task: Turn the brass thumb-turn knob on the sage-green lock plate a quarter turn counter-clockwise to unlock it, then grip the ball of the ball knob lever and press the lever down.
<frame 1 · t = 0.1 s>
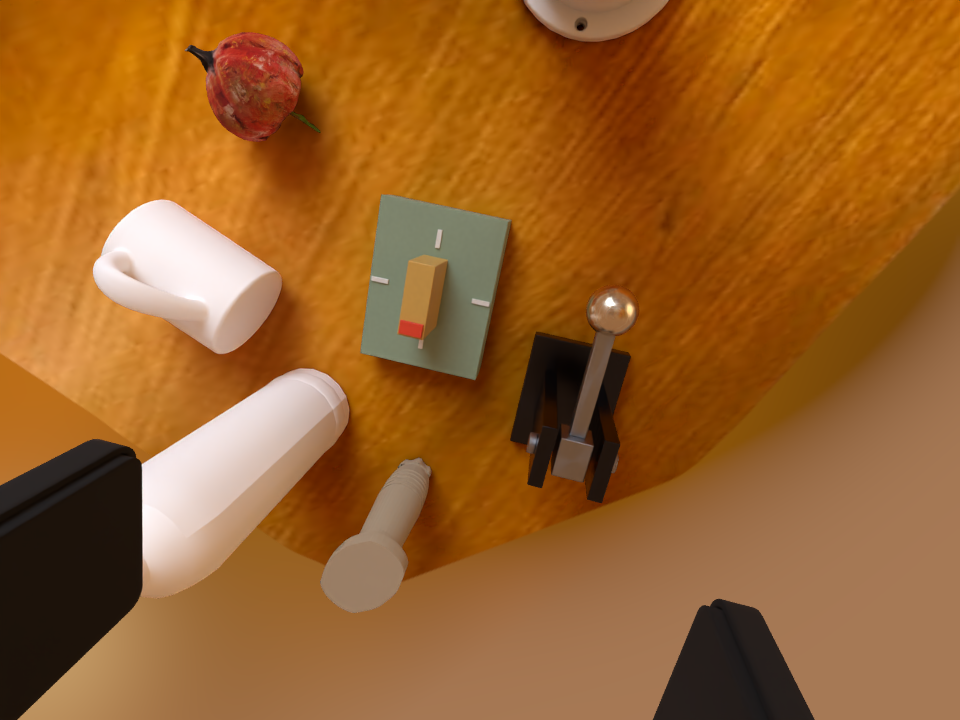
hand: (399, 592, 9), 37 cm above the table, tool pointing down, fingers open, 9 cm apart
lock plate: (438, 285, 45), on the table
bottle: (311, 405, 50), on the table
lock knob: (422, 296, 39), point 5 cm above the table, hinge at 0.0°
handle bracket: (567, 395, 46), on the table
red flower: (283, 99, 42), on the table
ball knob lever: (591, 383, 34), point 11 cm above the table, hinge at 0.0°
handle: (416, 470, 50), on the table
mug: (228, 271, 47), on the table
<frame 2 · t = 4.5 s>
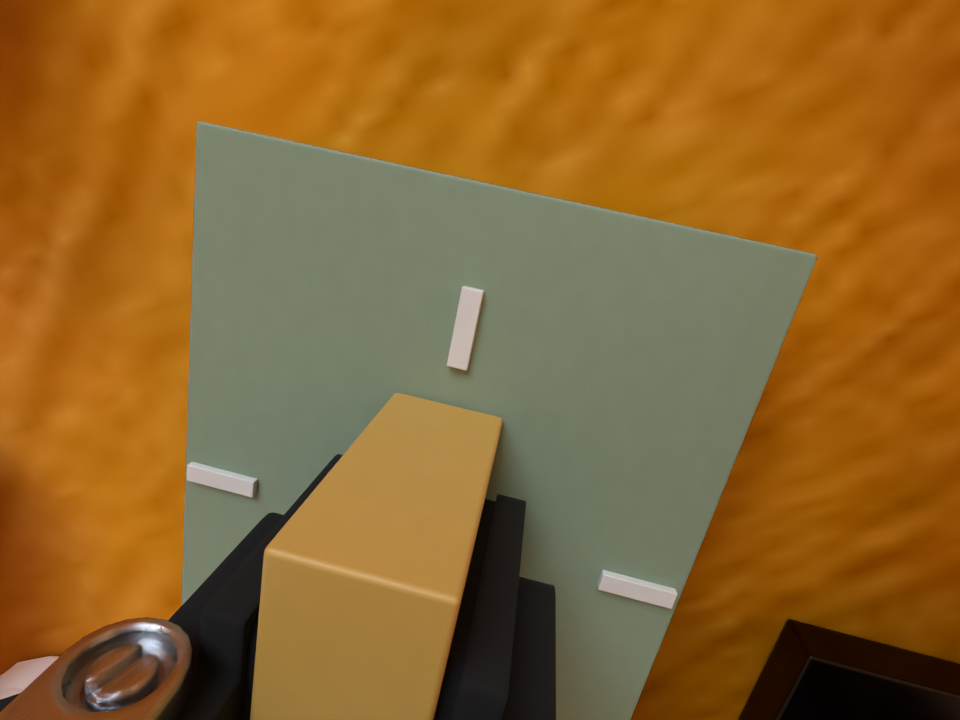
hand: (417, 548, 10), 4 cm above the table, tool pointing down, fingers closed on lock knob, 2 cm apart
lock plate: (452, 458, 13), on the table
lock knob: (386, 626, 8), point 5 cm above the table, hinge at 0.4°, touching gripper
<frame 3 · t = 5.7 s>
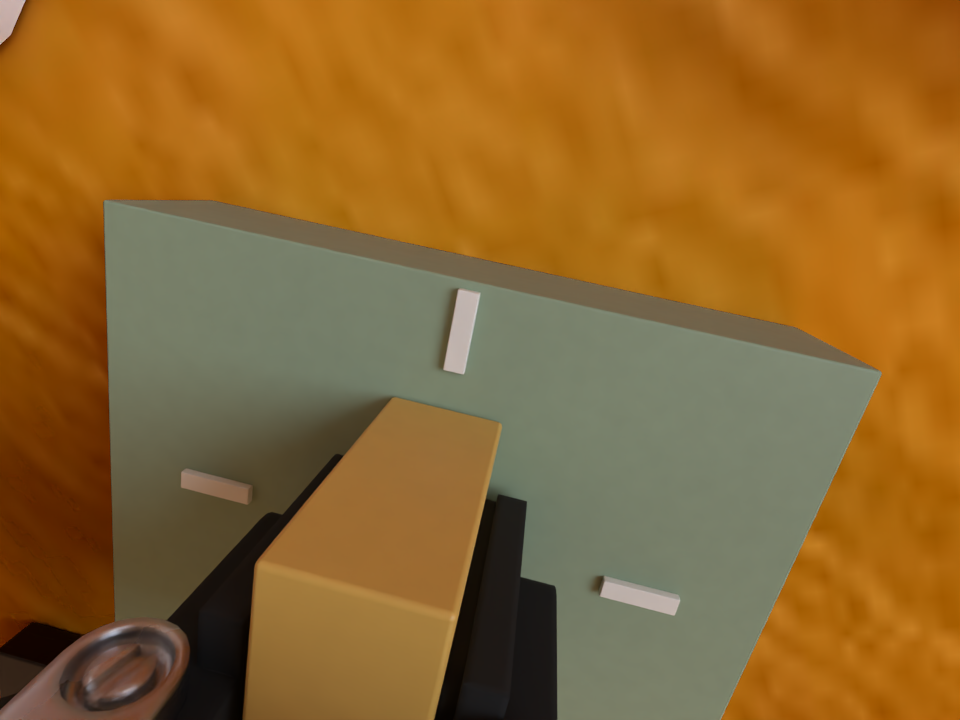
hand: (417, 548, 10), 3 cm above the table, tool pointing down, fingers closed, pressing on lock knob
lock plate: (451, 462, 13), on the table
lock knob: (383, 636, 8), point 5 cm above the table, hinge at 89.8°, touching gripper
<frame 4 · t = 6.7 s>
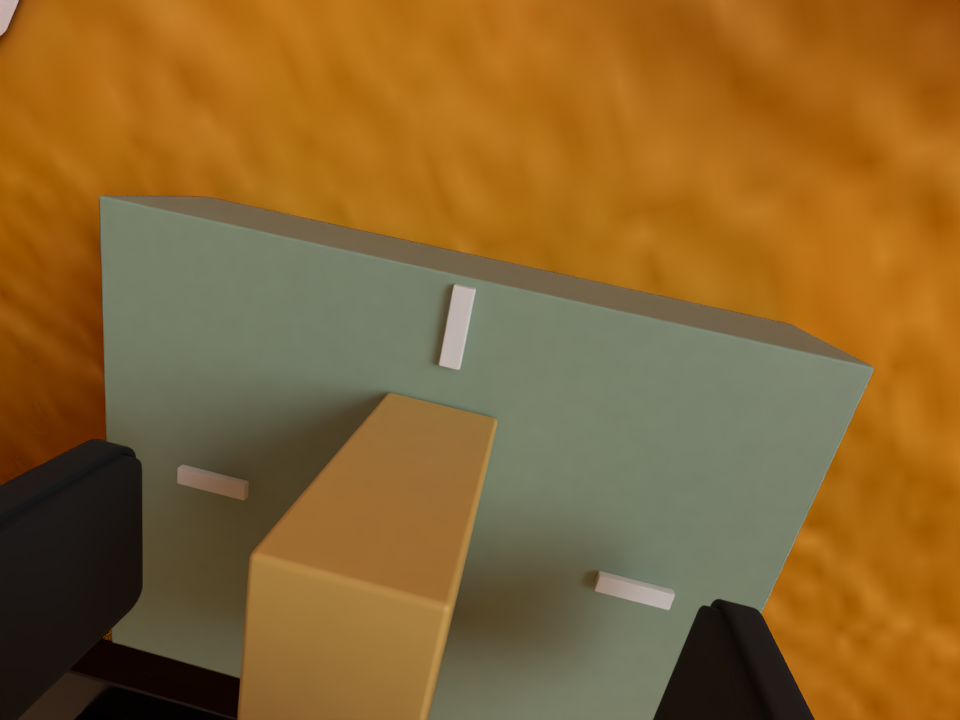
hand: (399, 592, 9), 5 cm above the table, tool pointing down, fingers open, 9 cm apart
lock plate: (448, 459, 13), on the table
lock knob: (378, 630, 8), point 5 cm above the table, hinge at 89.8°
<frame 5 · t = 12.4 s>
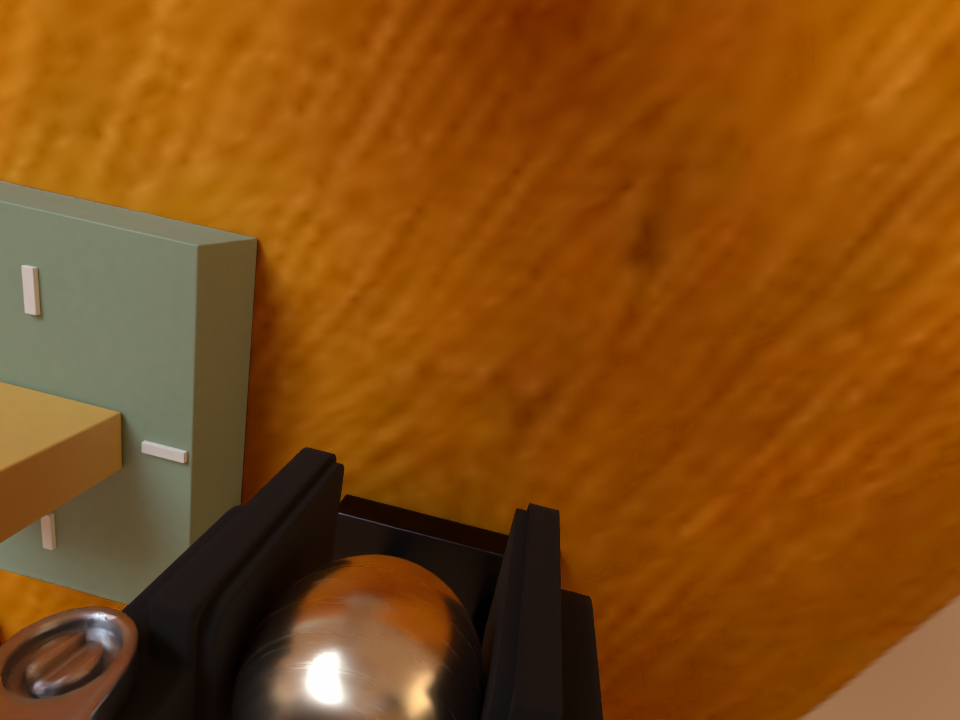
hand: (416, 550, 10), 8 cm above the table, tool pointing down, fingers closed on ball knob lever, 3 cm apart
lock plate: (118, 386, 19), on the table
handle bracket: (428, 626, 20), on the table
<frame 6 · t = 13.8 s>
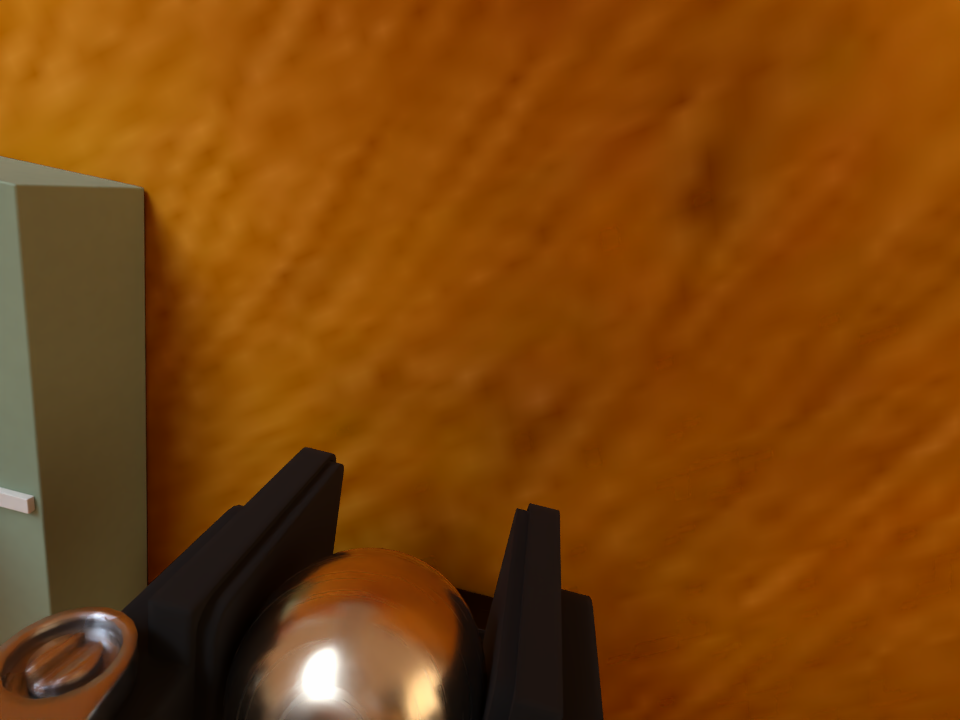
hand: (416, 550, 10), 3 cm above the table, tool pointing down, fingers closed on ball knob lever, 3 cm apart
handle bracket: (399, 713, 15), on the table
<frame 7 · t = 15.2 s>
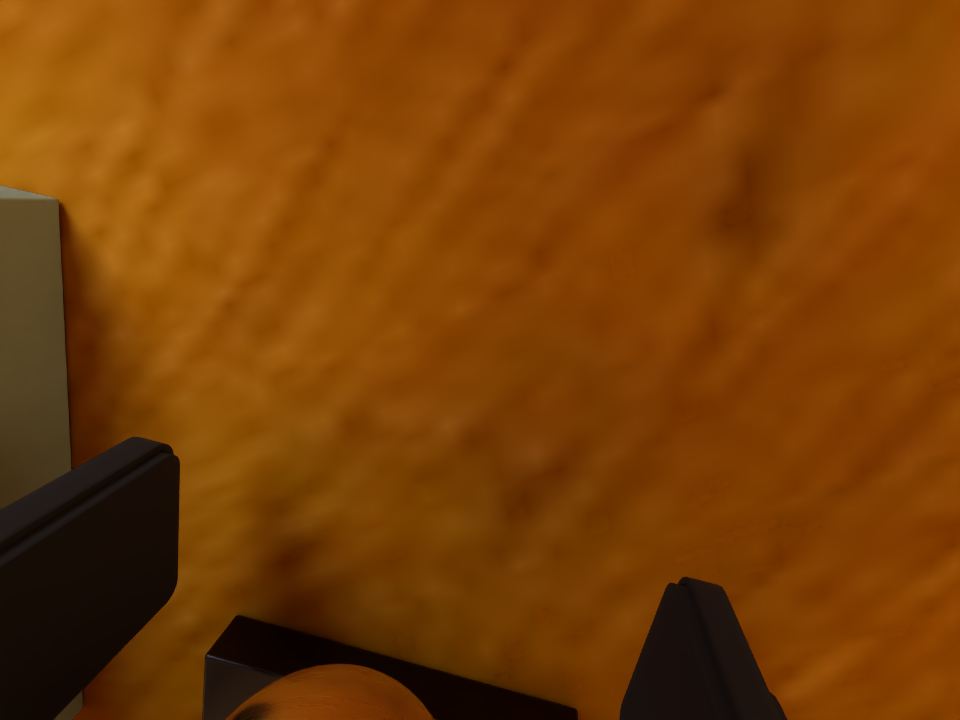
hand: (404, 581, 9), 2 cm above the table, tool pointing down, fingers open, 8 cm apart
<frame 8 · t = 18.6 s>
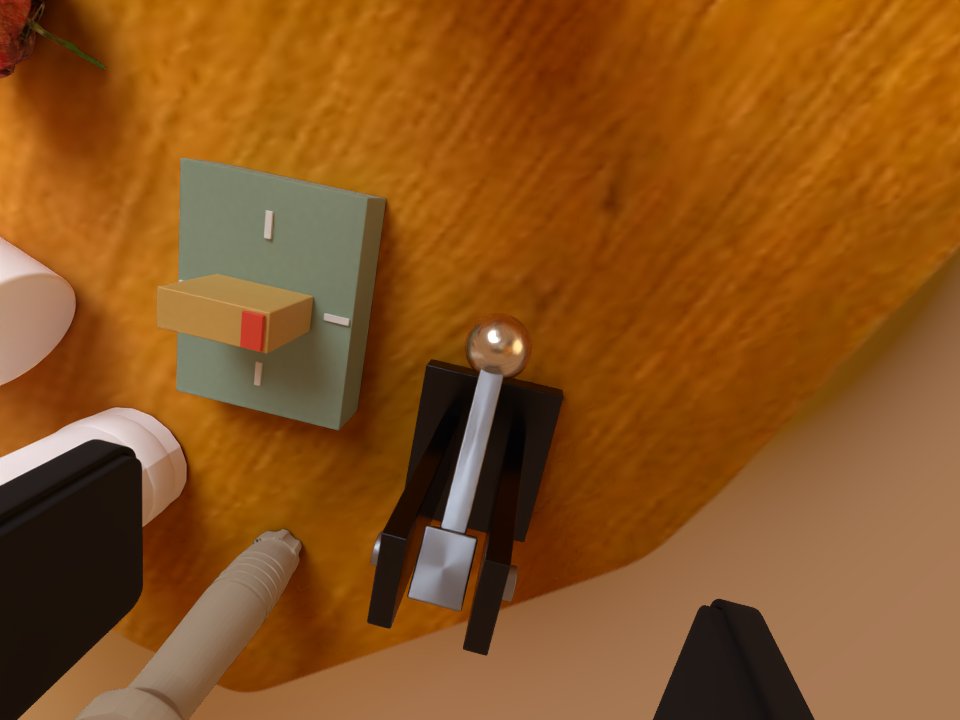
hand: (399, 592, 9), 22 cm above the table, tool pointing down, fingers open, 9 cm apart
lock plate: (290, 293, 31), on the table
bottle: (138, 457, 36), on the table
lock knob: (238, 311, 26), point 5 cm above the table, hinge at 89.8°
handle bracket: (479, 448, 32), on the table
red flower: (51, 20, 29), on the table
ball knob lever: (473, 447, 23), point 8 cm above the table, hinge at -35.5°
handle: (284, 544, 37), on the table
mug: (8, 273, 34), on the table
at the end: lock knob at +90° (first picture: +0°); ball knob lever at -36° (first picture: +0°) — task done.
